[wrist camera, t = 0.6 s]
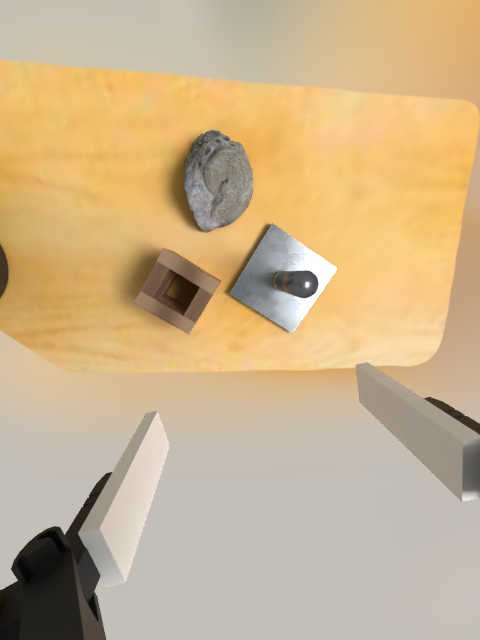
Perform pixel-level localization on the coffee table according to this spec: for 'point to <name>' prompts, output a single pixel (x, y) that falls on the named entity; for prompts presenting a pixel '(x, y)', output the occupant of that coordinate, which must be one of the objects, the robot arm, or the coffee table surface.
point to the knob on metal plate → (282, 279)
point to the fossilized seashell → (217, 180)
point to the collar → (160, 282)
